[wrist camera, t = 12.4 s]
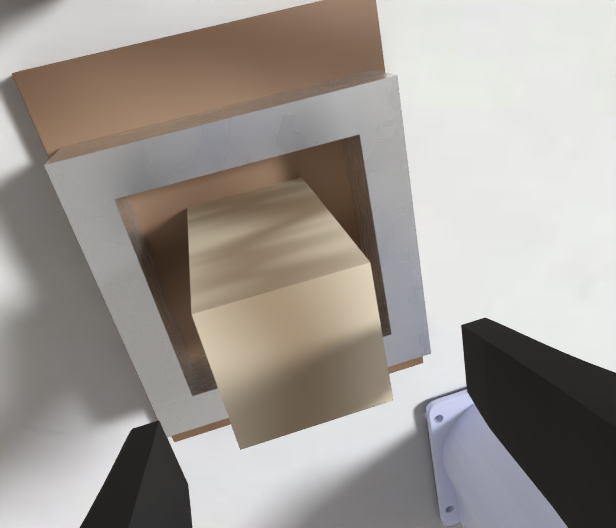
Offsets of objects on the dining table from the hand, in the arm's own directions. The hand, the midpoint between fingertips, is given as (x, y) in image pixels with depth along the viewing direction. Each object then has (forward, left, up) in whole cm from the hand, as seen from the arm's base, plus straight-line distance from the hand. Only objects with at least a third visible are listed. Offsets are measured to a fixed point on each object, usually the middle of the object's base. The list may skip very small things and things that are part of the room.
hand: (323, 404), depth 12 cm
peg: (0, 0, -10) cm, 10 cm away
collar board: (0, 0, -10) cm, 10 cm away
